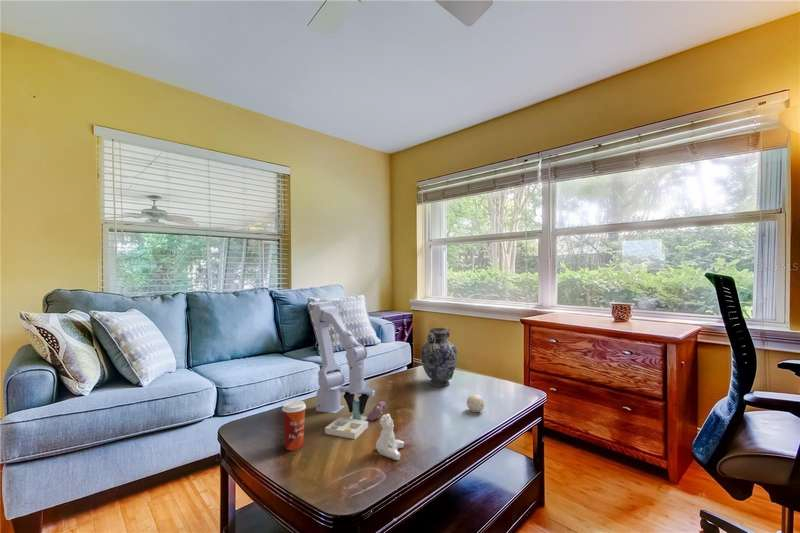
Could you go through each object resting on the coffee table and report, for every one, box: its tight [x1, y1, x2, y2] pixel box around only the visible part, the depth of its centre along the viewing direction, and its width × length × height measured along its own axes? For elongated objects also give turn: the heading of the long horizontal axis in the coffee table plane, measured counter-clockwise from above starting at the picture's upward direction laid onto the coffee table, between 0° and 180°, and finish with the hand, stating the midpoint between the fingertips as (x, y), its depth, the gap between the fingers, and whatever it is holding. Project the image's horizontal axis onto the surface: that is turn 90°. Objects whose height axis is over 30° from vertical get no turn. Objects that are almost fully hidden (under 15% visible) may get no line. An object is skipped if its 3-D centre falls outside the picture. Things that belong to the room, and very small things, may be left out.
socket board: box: [324, 416, 369, 440], centre depth 127 cm, size 12×10×3 cm
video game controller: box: [366, 400, 387, 421], centre depth 139 cm, size 10×5×7 cm, turn 168°
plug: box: [352, 399, 362, 420], centre depth 136 cm, size 3×3×7 cm
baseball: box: [466, 394, 485, 413], centre depth 143 cm, size 7×7×7 cm
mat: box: [349, 414, 368, 421], centre depth 136 cm, size 7×7×1 cm
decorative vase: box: [420, 327, 458, 388], centre depth 180 cm, size 21×19×28 cm
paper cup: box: [281, 399, 307, 451], centre depth 116 cm, size 8×8×14 cm
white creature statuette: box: [375, 413, 405, 461], centre depth 112 cm, size 10×9×12 cm
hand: (356, 412), depth 136 cm, fingers open, 4 cm apart
